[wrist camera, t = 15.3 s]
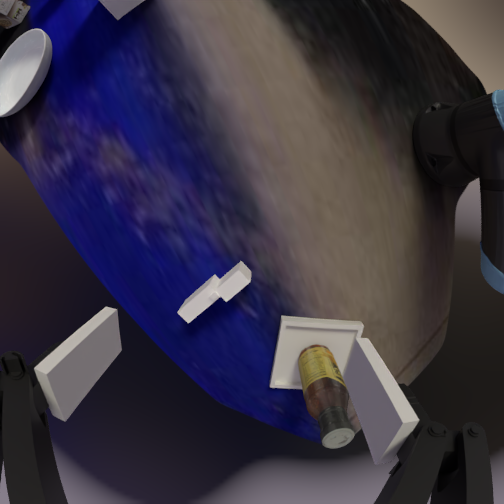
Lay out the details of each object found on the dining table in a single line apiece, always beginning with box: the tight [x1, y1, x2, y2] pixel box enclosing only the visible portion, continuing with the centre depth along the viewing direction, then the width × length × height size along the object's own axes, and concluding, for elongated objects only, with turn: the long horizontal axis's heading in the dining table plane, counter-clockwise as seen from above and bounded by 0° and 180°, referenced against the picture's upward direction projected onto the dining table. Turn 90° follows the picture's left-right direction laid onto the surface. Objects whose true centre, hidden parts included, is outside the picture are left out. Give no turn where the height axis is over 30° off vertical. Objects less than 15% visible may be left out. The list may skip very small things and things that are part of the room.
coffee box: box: [0, 0, 30, 29], centre depth 22 cm, size 9×6×16 cm
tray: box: [270, 316, 364, 389], centre depth 45 cm, size 14×14×2 cm
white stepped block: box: [177, 261, 251, 323], centre depth 41 cm, size 15×11×6 cm
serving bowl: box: [0, 29, 52, 117], centre depth 32 cm, size 21×21×7 cm
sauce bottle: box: [298, 344, 355, 448], centre depth 35 cm, size 7×6×20 cm
